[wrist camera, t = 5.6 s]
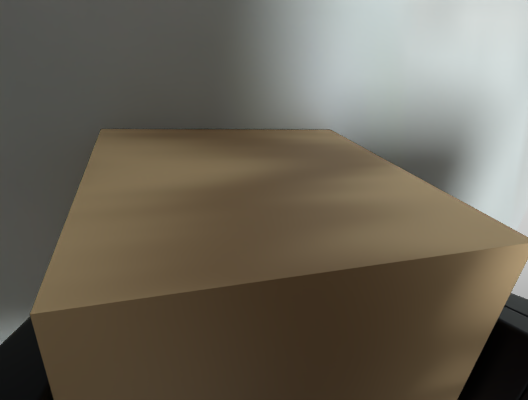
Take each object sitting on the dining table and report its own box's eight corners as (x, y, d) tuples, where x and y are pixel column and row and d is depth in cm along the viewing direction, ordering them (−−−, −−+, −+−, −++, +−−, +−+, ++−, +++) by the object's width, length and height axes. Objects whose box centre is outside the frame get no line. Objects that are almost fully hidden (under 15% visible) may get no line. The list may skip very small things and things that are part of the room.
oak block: (330, 129, 10) (536, 242, 5) (302, 293, 12) (416, 479, 7) (100, 128, 8) (29, 313, 3) (124, 322, 10) (109, 601, 5)
